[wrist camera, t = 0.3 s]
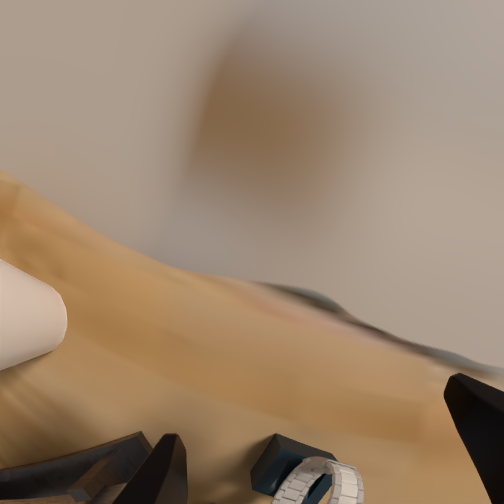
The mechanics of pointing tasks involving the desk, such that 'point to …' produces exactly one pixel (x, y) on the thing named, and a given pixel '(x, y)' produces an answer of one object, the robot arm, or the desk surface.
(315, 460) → the watch
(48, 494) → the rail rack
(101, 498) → the rail
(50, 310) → the foam cup
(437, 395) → the desk surface
